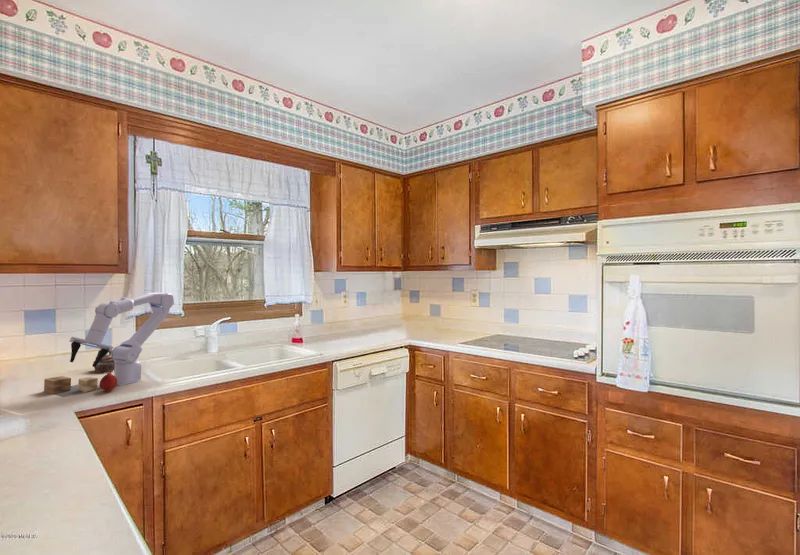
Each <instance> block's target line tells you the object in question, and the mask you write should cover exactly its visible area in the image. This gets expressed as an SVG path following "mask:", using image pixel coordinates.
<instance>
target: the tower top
mask: <svg viewBox="0 0 800 555" xmlns="http://www.w3.org/2000/svg"><path fill="white" fill-rule="evenodd" d="M70 384H71V385H72V378H71V377H68V376H65V375H61V376H54V377H48V378H44V383H43V386H44V385H45V386H49V387H53V388H54V387H59V386H64V385H70Z"/></svg>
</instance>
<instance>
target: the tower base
mask: <svg viewBox="0 0 800 555" xmlns="http://www.w3.org/2000/svg"><path fill="white" fill-rule="evenodd" d="M71 386H72V383H71V384H70V385H64V386H59V387H54V388H53V387H49V386H45V385H44V384H43V391H44V392H43V393H47V394H50V395H54V394H56V393H61V392H66V391H71Z"/></svg>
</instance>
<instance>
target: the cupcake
mask: <svg viewBox="0 0 800 555" xmlns="http://www.w3.org/2000/svg"><path fill="white" fill-rule="evenodd" d="M111 353H112V351H109V352H108V353H107V354H106V355H105V356H104V357H103V358H102V359H101V360H100V361H99V362H98V364H97V365H96V367H93V368H94V373H96V372H97V373H98V374H103V373H102V372H108V373H109V372H110V371H113V370H115V362H114V359H113V358H112V356H111ZM93 363H94V361H93ZM93 363H92V364H93ZM113 372H114V371H113Z"/></svg>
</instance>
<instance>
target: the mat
mask: <svg viewBox="0 0 800 555" xmlns="http://www.w3.org/2000/svg"><path fill="white" fill-rule="evenodd" d="M99 390H102V389H101V387H97V390H92V391H87V392H83V391H79V390H78V384H75V385H74V384H73V385H71V391H66V392H61V393H56V394H53V396H58V397H62V398H65V397H71V396H74V395H75V396H76V395H80V394H85V393H89V392H94V391H99ZM42 392H43V393H45V392H44V390H43V391H42Z"/></svg>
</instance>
